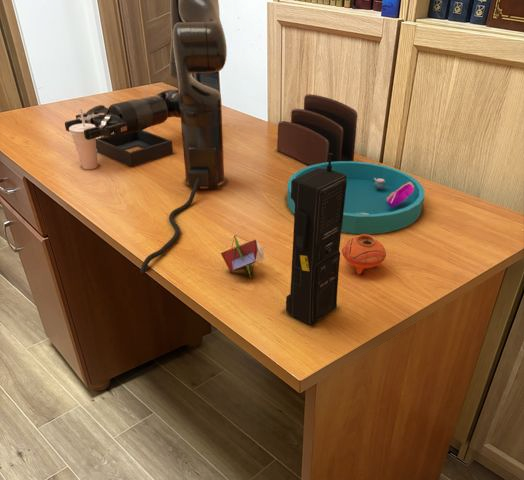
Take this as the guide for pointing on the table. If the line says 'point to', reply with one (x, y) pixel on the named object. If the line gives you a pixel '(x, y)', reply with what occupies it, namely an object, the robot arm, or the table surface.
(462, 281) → the table surface
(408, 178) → the round teal tray
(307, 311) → the portable radio
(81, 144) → the smoothie
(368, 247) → the pot
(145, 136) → the dark grey rectangular frame
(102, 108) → the curved wedge
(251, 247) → the geometric puzzle
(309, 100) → the letter holder
